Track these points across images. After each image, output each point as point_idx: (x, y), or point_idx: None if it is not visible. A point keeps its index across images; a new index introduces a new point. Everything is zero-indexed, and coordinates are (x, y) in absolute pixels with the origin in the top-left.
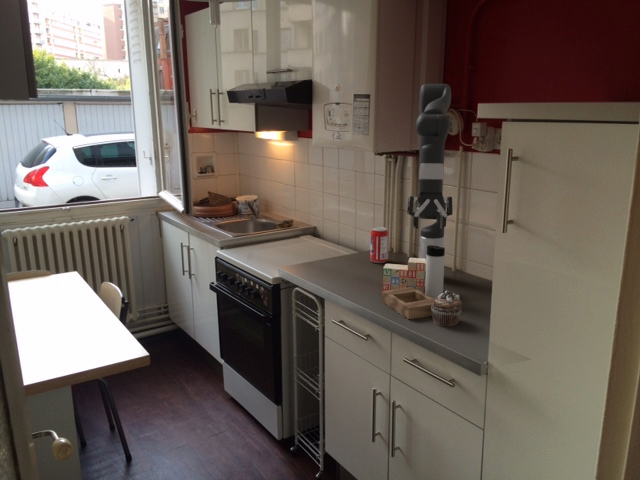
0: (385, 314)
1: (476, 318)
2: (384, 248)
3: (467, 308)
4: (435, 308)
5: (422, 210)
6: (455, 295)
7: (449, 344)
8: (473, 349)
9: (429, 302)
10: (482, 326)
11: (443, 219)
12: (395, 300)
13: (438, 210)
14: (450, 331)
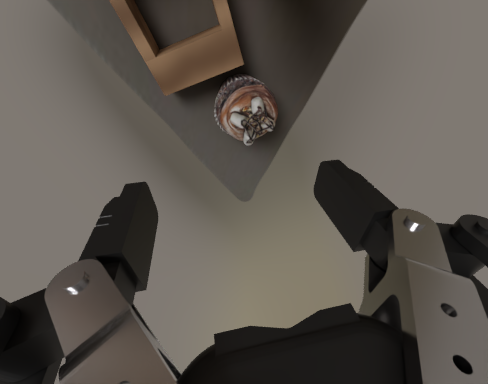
0: (107, 45)
1: (301, 86)
2: None
3: (316, 18)
4: (220, 122)
5: (177, 368)
6: (266, 129)
7: (223, 174)
8: (247, 184)
9: (218, 58)
10: (292, 122)
11: (351, 236)
12: (122, 22)
13: (378, 299)
14: None
